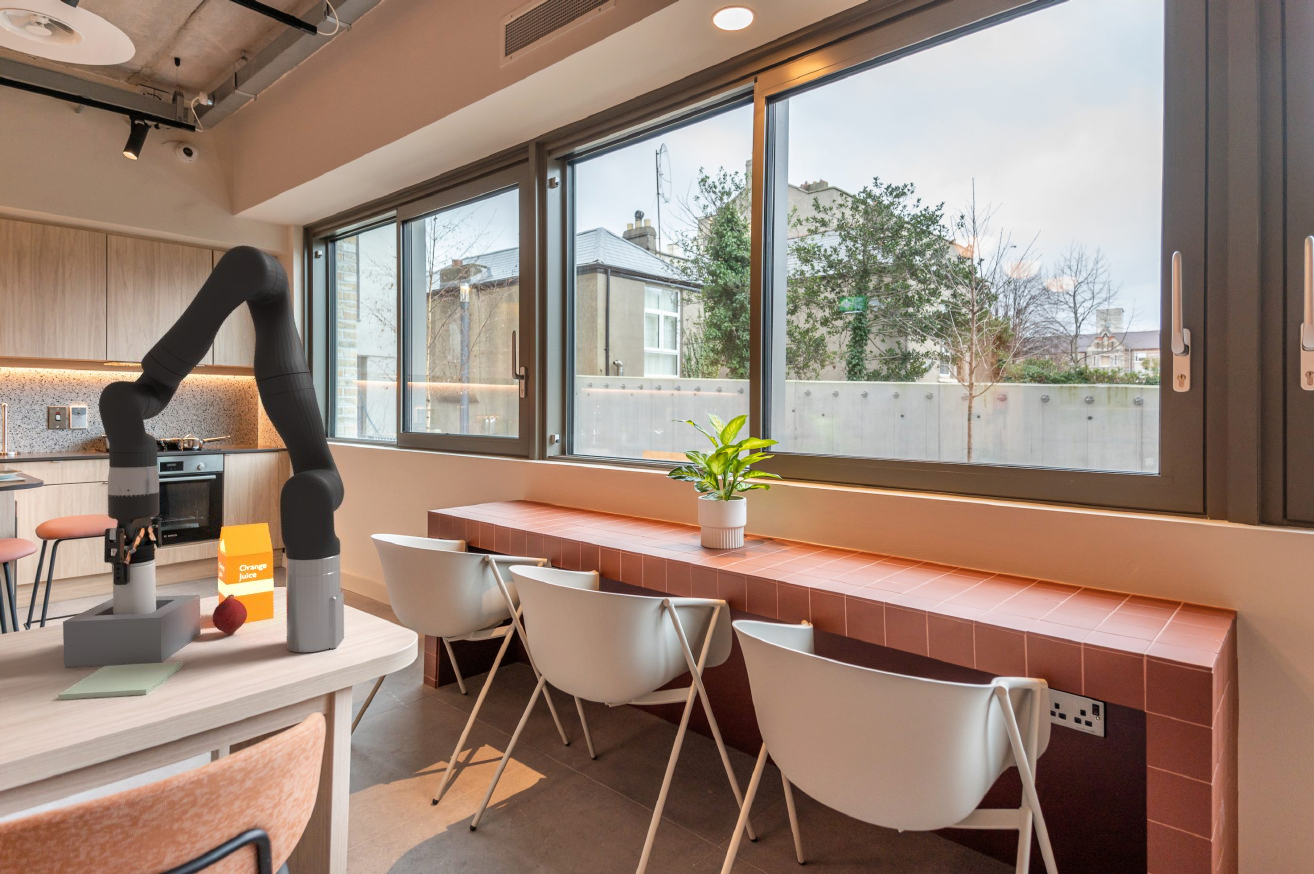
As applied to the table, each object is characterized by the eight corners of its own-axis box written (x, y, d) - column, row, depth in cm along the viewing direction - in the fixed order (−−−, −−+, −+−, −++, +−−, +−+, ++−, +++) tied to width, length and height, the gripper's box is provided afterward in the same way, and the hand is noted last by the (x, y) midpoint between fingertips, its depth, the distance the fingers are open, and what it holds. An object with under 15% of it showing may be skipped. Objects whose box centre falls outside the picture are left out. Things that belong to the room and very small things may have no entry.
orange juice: (218, 617, 148) (216, 524, 147) (264, 609, 154) (263, 520, 153) (226, 626, 142) (225, 529, 141) (274, 618, 148) (273, 525, 147)
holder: (200, 634, 137) (199, 594, 136) (161, 662, 122) (160, 617, 122) (114, 638, 134) (113, 597, 133) (64, 667, 119) (63, 621, 119)
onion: (230, 640, 134) (230, 599, 133) (205, 637, 135) (204, 597, 135) (254, 630, 139) (253, 591, 139) (229, 628, 141) (228, 589, 140)
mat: (183, 666, 120) (183, 661, 120) (146, 694, 109) (146, 689, 109) (104, 670, 118) (104, 665, 118) (58, 699, 106) (58, 694, 106)
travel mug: (166, 647, 130) (164, 541, 129) (127, 658, 124) (124, 547, 123) (146, 642, 132) (144, 538, 131) (106, 653, 126) (104, 544, 125)
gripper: (135, 495, 120) (136, 588, 121) (176, 486, 134) (176, 569, 135) (86, 496, 119) (87, 589, 120) (132, 486, 133) (133, 570, 134)
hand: (135, 578), depth 127 cm, fingers open, 8 cm apart
